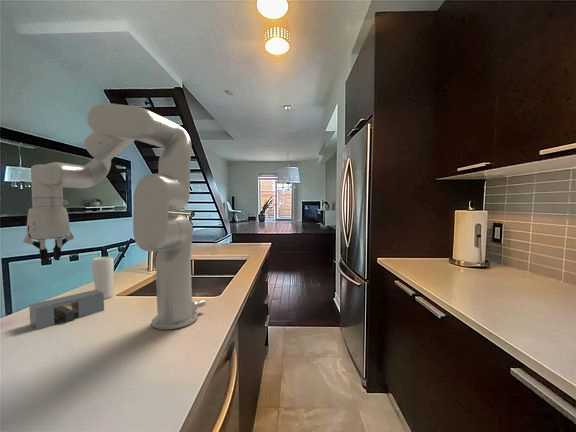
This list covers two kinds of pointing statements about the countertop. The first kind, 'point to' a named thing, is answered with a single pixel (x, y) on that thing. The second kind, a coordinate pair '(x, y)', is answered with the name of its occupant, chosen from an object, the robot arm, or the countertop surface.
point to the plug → (64, 314)
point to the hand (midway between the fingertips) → (50, 260)
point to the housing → (79, 302)
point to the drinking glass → (103, 275)
